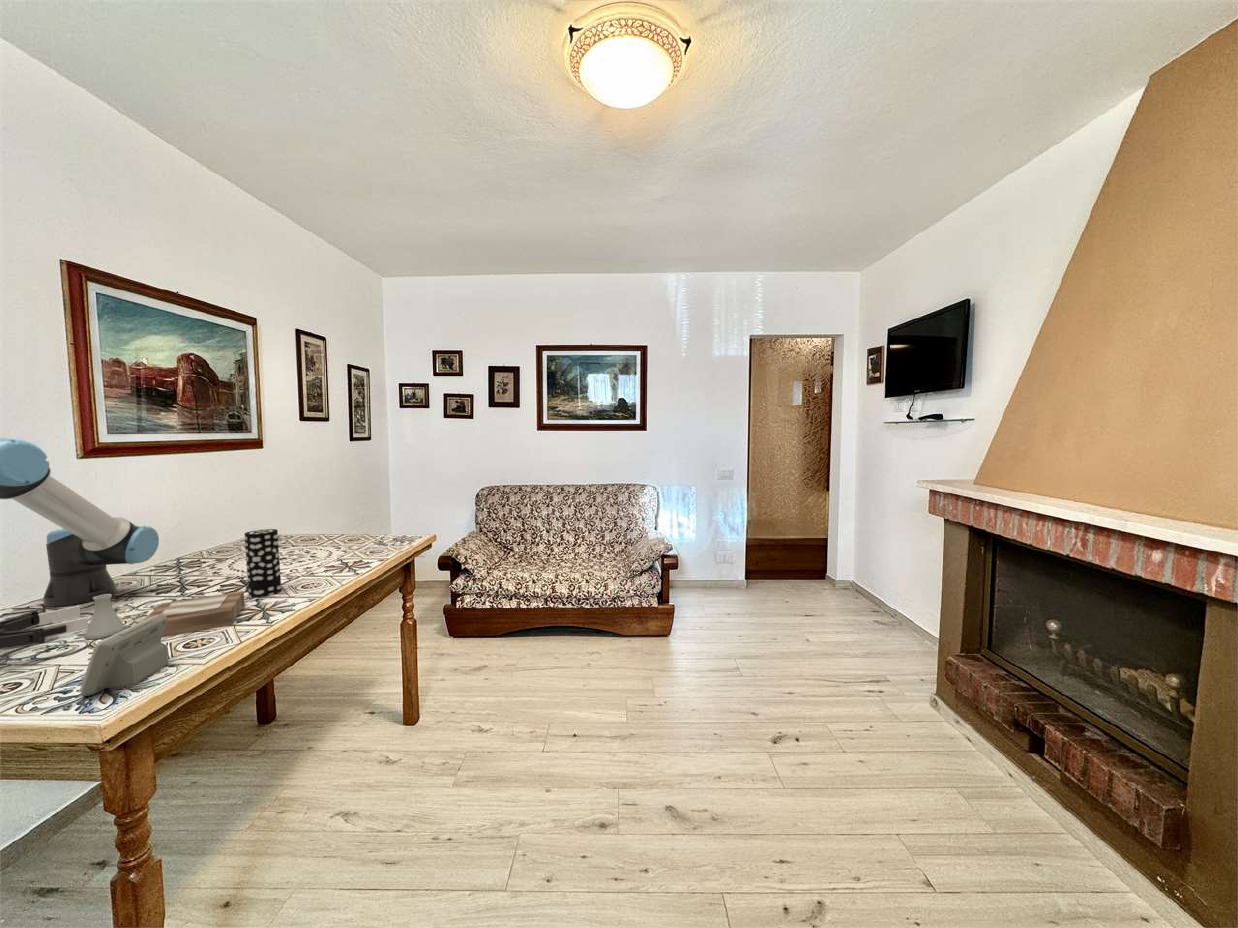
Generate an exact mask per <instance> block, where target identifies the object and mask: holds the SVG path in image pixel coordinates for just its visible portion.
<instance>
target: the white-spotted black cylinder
mask: <svg viewBox="0 0 1238 928" xmlns="http://www.w3.org/2000/svg"><path fill="white" fill-rule="evenodd" d="M278 532H279V531H278V528H277V529H276V528H270V529H269V528H268V529H267V528H266V529H257V530H251V531H247V532H245V533H244V545H245V559H246V571H247V573H246V574H247V585H248V586H247V587H248V597H249V598H264V597H269V596H273V595H276V594H279V593H280V592H281V591H282V578H281V576H282V575H281V564H280V562H281V561H280V551H279V549H280V548H279V533H278Z"/></svg>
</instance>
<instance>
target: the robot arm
mask: <svg viewBox="0 0 1238 928" xmlns="http://www.w3.org/2000/svg"><path fill="white" fill-rule="evenodd" d="M47 459H48V456H47V454H46V453H45V452H44V450H42V449H41V448H40V447H39V446H38V445H36V444H34V443H32V442H30V441H29V442H28V441H26V440H21V439H14V438H7V437H3V438H1V437H0V500H14V501H15V502H16V503H19V504H20V505H21V506H24V507H26V508H27V509H29V510H31V511H32V512H34V513H36V514H38V515H39V516H41V517H43V518H45V519H46V520H48V521H49V522H52V523H53V524H55V525H56V526H58V527H60V529H56V530H51V531H50V532H49V533H48V534H47V535H46V544H45V545H46V554H47V561H48V569H49V577H50V579H49V582H48V584H47V587H46V590H45V593H44V595H43V598H42V600H43V606H45V607H63V606H70V605H71V606H70V607H66V608H60V609H57V610H56V609H55V610H52V611H45V612H41V613H39V610H36V611H31V613H27V614H24V615H20V616H16V617H12V618H9V619H4V620H1V621H0V650H1V649H10V648H14V647H21V646H28V645H33V644H44V643H46V639H49V638H53V637H57V636H62V635H66V634H67V635H68V634H71V633H74V632H79V631H84V630H87V629H88V626H89V623H88V617H87V616H84V617H81V608H80V605H78V604H83V603H87V602H93V601H94V600H93V597H96V596H100V595H104V594H111V595H112V596H113V595H115V594H116V593H117V592H118V591H117V584H116V583H115V581H114V579H113V578H112V577H111V574H110V572H109V571H108V569H107V566H109V565H127V564H128V565H133V564H134V565H135V564H141V563H144V562H147V561H149V560H151V558H152V557H153V556H154V555H155V553H156V552H157V550H158V548H159V543H160V541H159V540H160V537H159V534H158V531H157V530H156V529H155V528H154V527H151V526H147V525H141V526H139V525H135V523H133V522H131V521H130V520H128V519H126V518H123V517H120V516H119V517H113V516H111V515H110V514H108V513H107V512H106V511H104V510H102V509H101V508H100V507H98V506H97V505H95V504H93V503H92V502H90V501H89V500H87V499H86V498H84V497H83V496H81V495H80V494H79V493H77V492H75V491H74V490H73V489H71V488H70V487H69V486H67V485H64V484H63V483H62V482H60V481H59V480H58V479H56V478H54V476H52V475H51V473H52V470H51V467H50V462H49V460H47ZM72 605H76V606H72ZM60 621H61V622H60ZM36 625H39V626H42V625H43V627H42V628H41V627H40V628H31V627H34V626H36ZM29 628H31V629H29Z"/></svg>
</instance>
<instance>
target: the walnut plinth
mask: <svg viewBox="0 0 1238 928" xmlns="http://www.w3.org/2000/svg"><path fill="white" fill-rule="evenodd" d="M244 606H245V592H244V590H242V591H235V592H228V593H222V594H215V595H208V596H201V597H194V598H188V599H187V598H186V599H181V600H174V601H168V602H167V601H166V602H162V603H160V604H159V605H158V606H157V607H155V609H154V610H153V611H151V612H150V613H149V614H148V615H147V616H145V617H144V618H143V619H142V620H141V621H140V622H142V621H144V620H146V619H149V618H151V617H153V616H156V615H160V614H163V615H166V616H167V619H168V620H167V624H166V627H165V629H164V632H163V635H162V638H164V637H170V636H176V635H181V634H186V633H193V632H197V631H203V630H210V629H215V628H219V627H220V628H221V627H226V626H232V625H233V624H234V622H235V621H236V619H237V618H238V615H240V612H241V610H242V609H243V607H244Z"/></svg>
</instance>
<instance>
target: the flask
mask: <svg viewBox="0 0 1238 928" xmlns="http://www.w3.org/2000/svg"><path fill="white" fill-rule="evenodd" d="M112 597H113V595H111V594H104V595H100V596H96V597H93V601H94V610H93V614H92V617H91V619H90V621H89V623H88V629H85V630H86V631H85V633H84V636H83V637H84V639H86V640H94V639H96V640H97V639H102V638H108V637H110V636H113V635H115V634H117V633H119V632H121V631H123V630H125V629H127V627H126V626H125V625H124V623H123V622H122V620H121V618H120V617H119V616H118V614H117V613H116V611H115V610H114V606H113V604H112V601H111V598H112Z"/></svg>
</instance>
